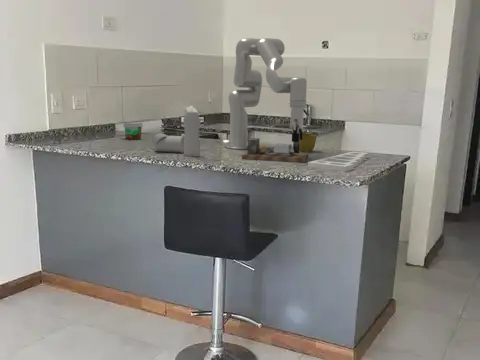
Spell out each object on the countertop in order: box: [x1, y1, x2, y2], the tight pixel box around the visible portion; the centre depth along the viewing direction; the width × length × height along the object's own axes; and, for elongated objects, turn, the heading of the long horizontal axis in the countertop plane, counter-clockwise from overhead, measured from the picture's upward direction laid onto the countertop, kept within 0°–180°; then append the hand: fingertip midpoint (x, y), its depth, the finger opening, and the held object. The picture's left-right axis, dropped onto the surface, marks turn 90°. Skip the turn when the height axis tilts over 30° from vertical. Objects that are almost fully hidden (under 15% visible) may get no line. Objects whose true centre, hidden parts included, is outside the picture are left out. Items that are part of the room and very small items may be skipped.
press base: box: [241, 137, 309, 163], centre depth 260 cm, size 30×14×9 cm, turn 75°
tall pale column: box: [183, 110, 201, 158], centre depth 264 cm, size 11×4×22 cm, turn 54°
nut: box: [258, 144, 268, 154], centre depth 262 cm, size 4×4×4 cm
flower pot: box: [299, 133, 318, 153], centre depth 287 cm, size 9×9×9 cm
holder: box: [307, 151, 369, 173], centre depth 251 cm, size 45×18×3 cm, turn 143°
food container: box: [122, 122, 143, 141], centre depth 326 cm, size 12×6×10 cm, turn 73°
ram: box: [273, 132, 300, 154], centre depth 258 cm, size 12×8×10 cm, turn 75°
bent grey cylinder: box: [152, 133, 185, 154], centre depth 281 cm, size 18×11×20 cm
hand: (296, 140), depth 256 cm, fingers open, 9 cm apart
